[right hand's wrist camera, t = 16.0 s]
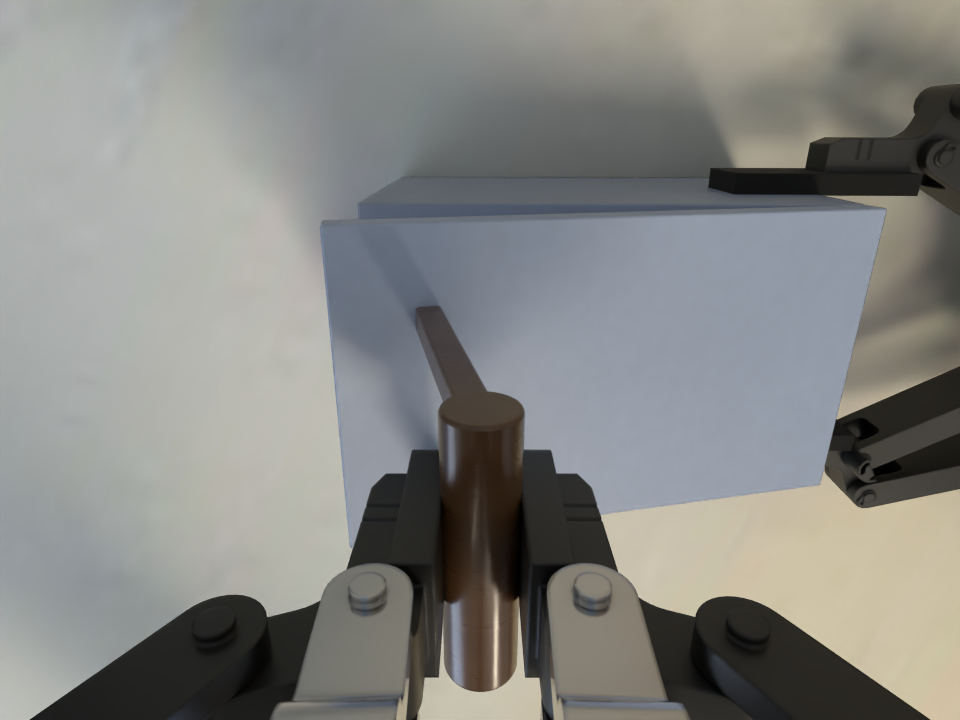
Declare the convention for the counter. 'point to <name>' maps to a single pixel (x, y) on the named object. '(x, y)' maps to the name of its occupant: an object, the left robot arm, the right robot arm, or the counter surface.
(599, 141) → the counter surface
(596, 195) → the chest
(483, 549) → the lid
